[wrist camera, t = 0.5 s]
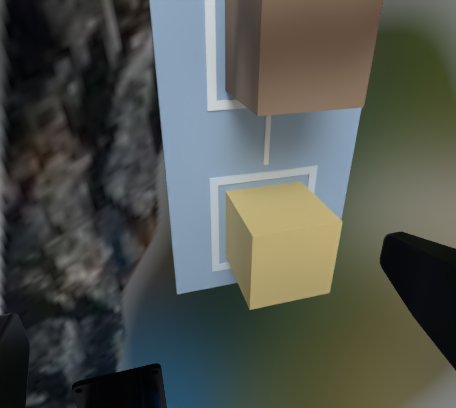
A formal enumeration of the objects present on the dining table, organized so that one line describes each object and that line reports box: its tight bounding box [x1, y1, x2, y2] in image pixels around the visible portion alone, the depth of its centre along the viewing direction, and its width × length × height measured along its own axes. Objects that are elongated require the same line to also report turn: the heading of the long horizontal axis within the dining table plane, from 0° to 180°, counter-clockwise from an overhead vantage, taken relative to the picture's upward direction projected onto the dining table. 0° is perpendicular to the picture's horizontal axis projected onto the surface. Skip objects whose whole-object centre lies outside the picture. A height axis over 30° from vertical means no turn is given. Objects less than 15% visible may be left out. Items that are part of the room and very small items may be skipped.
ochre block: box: [226, 182, 343, 310], centre depth 22 cm, size 5×5×5 cm
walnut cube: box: [225, 0, 383, 116], centre depth 16 cm, size 5×5×5 cm
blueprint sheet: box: [149, 0, 361, 294], centre depth 21 cm, size 22×12×1 cm, turn 0°
